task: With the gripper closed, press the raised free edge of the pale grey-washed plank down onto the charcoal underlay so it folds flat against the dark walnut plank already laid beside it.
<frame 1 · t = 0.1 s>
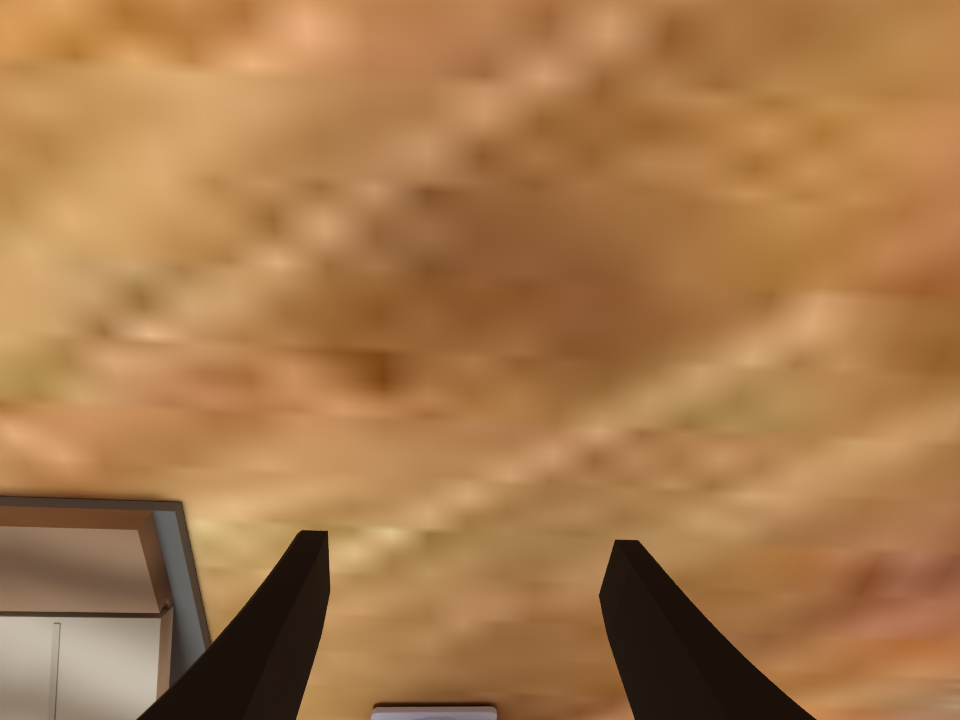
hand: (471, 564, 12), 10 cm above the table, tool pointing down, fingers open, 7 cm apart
laid plank: (15, 539, 24), resting on underlay
underlay: (61, 650, 27), on the table
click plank: (10, 708, 24), point 3 cm above the table, hinge at 25.0°
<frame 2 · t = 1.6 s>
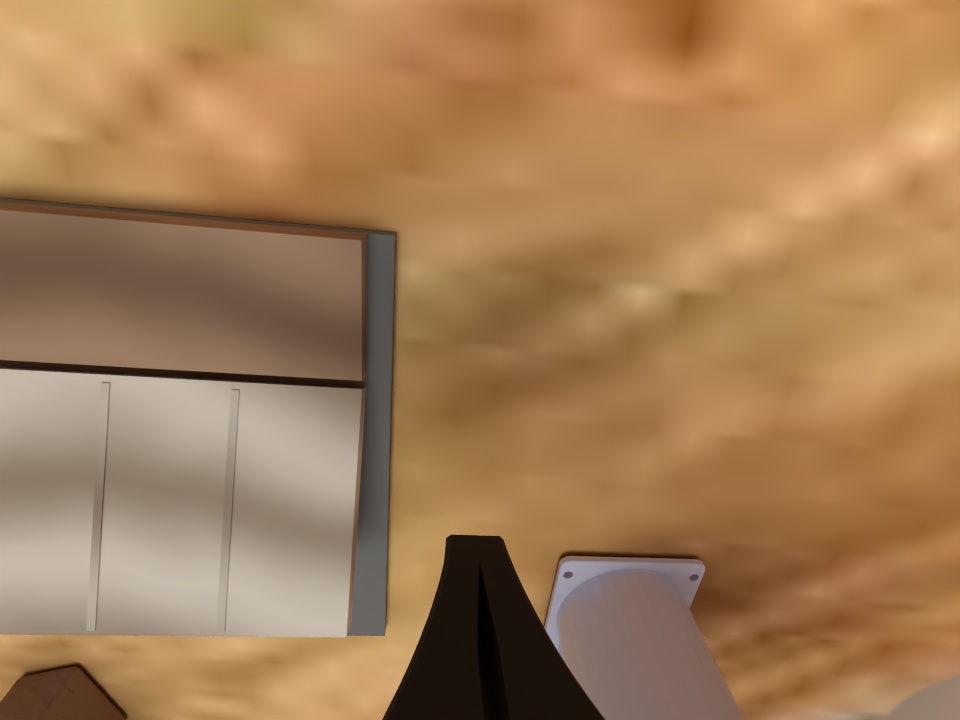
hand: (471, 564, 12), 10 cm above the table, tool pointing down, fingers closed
laid plank: (182, 285, 19), resting on underlay
underlay: (211, 461, 22), on the table
brown wooden upright frame: (103, 717, 30), on the table
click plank: (172, 502, 19), point 3 cm above the table, hinge at 25.0°
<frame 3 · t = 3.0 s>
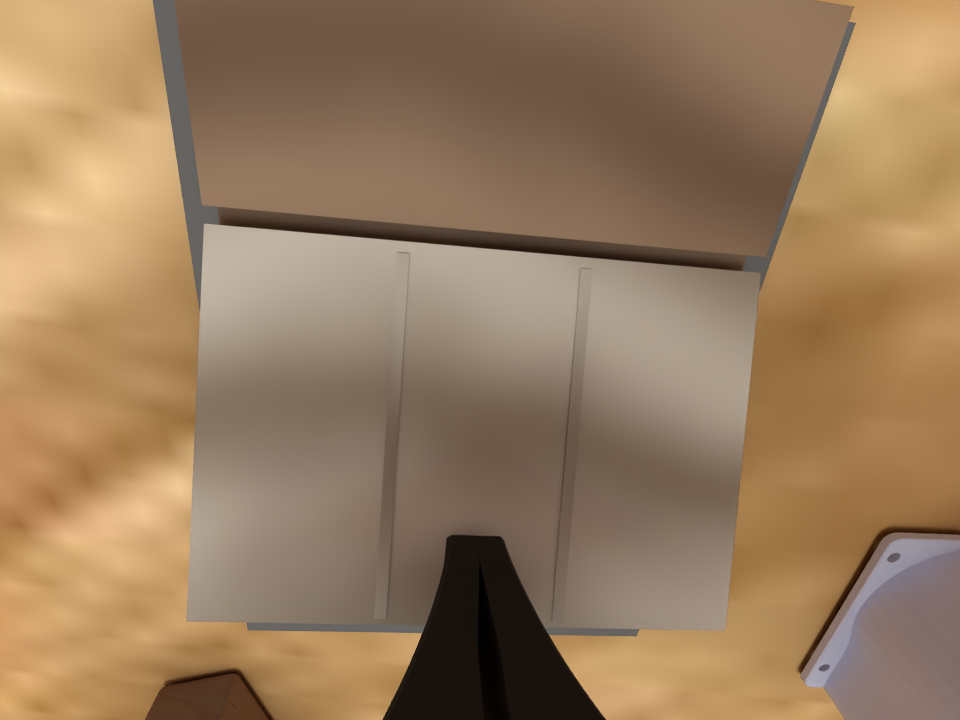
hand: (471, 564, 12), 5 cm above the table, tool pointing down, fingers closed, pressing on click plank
laid plank: (505, 111, 13), resting on underlay
underlay: (474, 393, 16), on the table
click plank: (481, 436, 13), point 3 cm above the table, hinge at 22.5°, touching gripper
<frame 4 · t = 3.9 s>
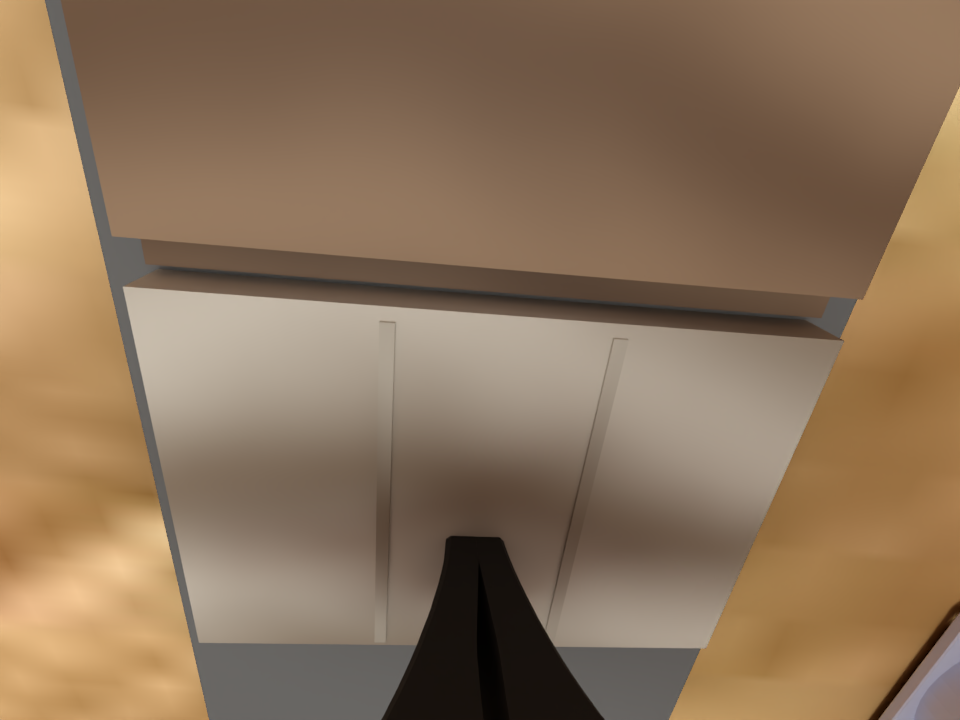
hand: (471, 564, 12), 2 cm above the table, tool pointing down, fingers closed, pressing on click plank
laid plank: (521, 109, 10), resting on underlay
underlay: (479, 457, 13), on the table
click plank: (481, 493, 12), point 1 cm above the table, hinge at 0.3°, touching gripper
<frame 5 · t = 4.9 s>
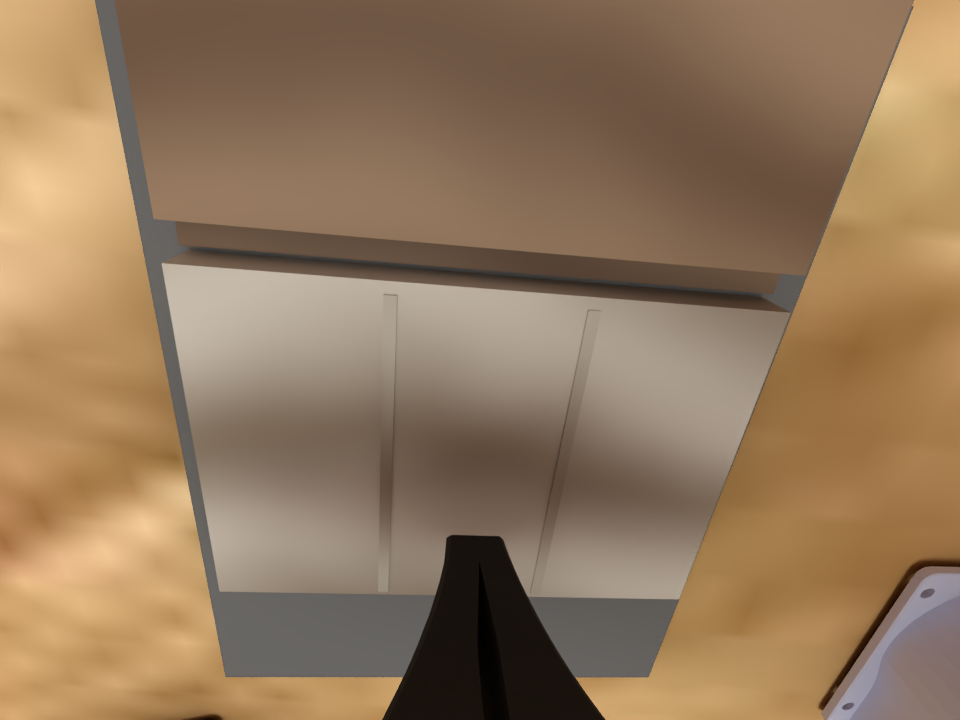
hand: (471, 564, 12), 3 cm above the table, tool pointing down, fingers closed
laid plank: (507, 109, 11), resting on underlay
underlay: (472, 423, 15), on the table
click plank: (473, 453, 13), point 1 cm above the table, hinge at 0.3°
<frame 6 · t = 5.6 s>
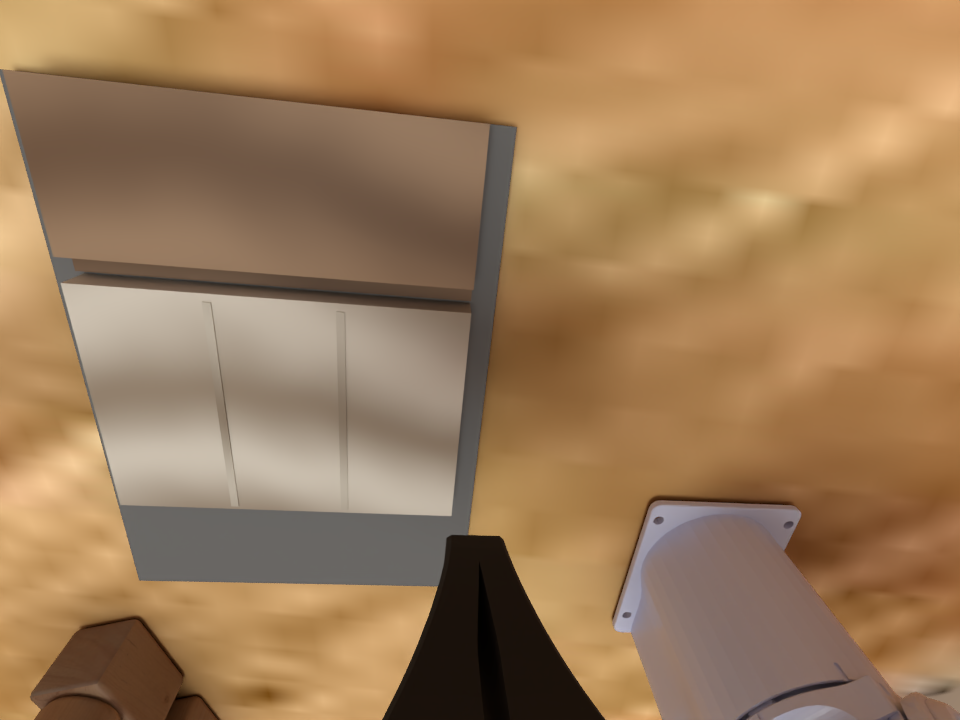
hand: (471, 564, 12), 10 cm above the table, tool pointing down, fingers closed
laid plank: (282, 185, 17), resting on underlay
underlay: (295, 390, 21), on the table
brown wooden upright frame: (159, 676, 29), on the table
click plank: (287, 408, 20), point 1 cm above the table, hinge at 0.3°
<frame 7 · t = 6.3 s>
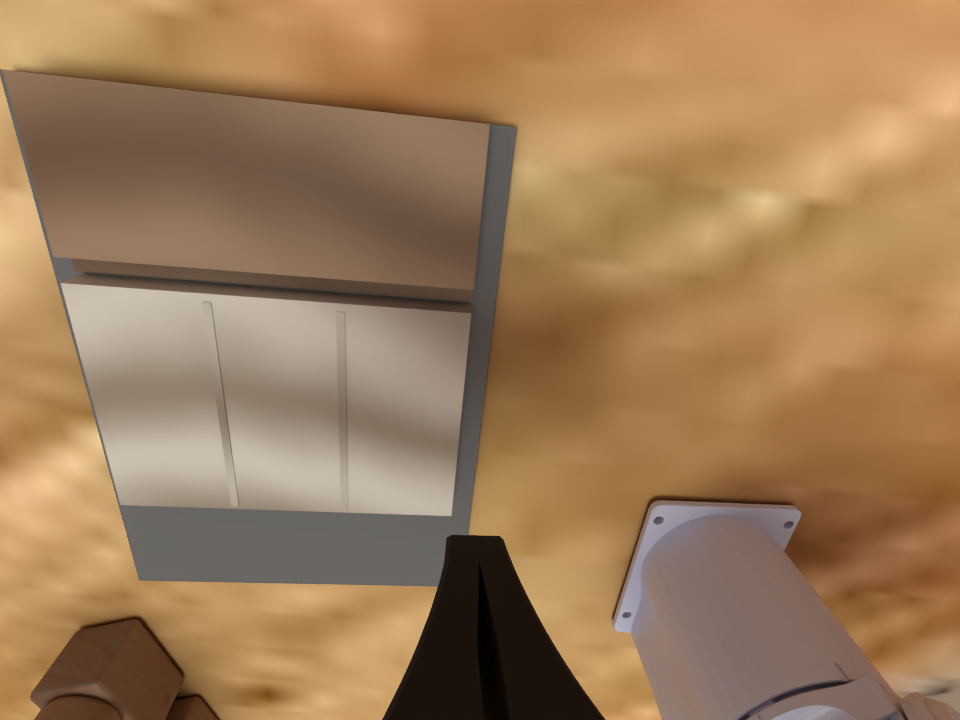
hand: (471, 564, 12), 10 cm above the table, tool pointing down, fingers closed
laid plank: (282, 185, 17), resting on underlay
underlay: (295, 390, 21), on the table
brown wooden upright frame: (159, 676, 29), on the table
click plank: (287, 408, 20), point 1 cm above the table, hinge at 0.3°
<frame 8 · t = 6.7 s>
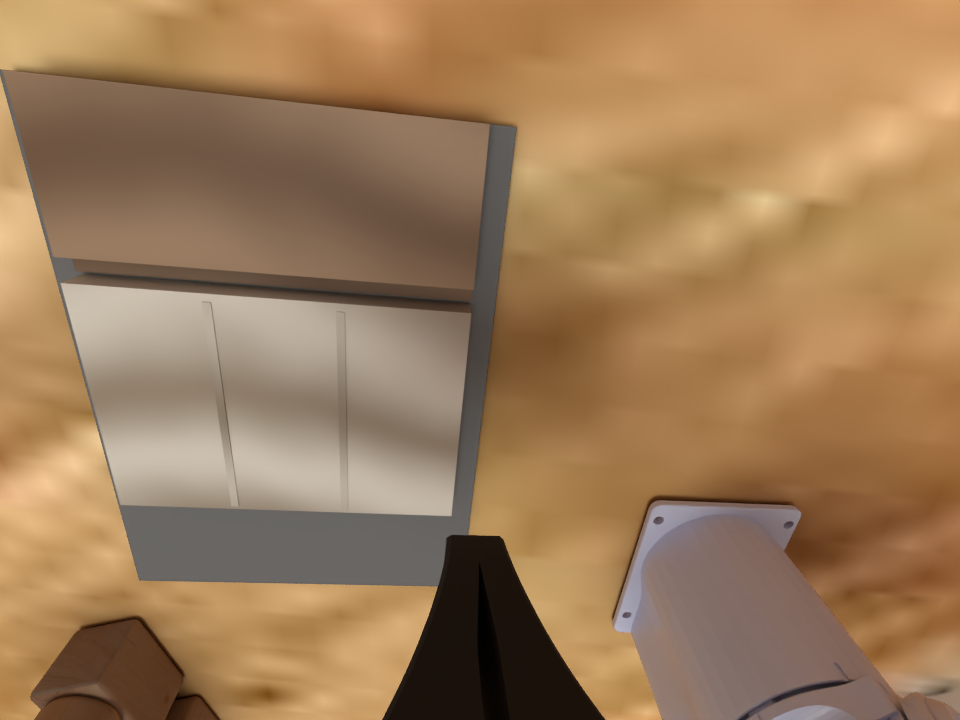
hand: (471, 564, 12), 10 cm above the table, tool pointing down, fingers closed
laid plank: (282, 185, 17), resting on underlay
underlay: (295, 390, 21), on the table
brown wooden upright frame: (159, 676, 29), on the table
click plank: (287, 408, 20), point 1 cm above the table, hinge at 0.3°
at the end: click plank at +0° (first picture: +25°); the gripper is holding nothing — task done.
